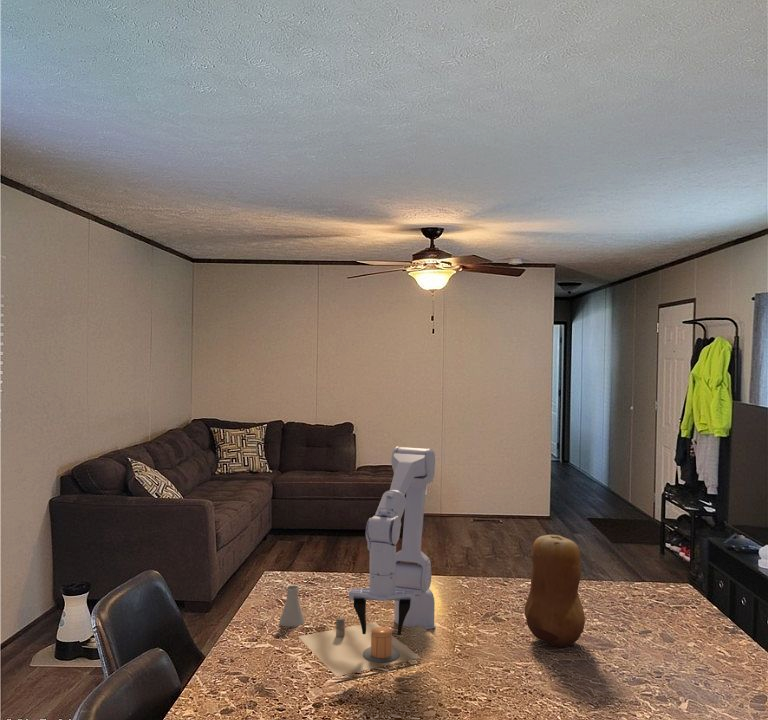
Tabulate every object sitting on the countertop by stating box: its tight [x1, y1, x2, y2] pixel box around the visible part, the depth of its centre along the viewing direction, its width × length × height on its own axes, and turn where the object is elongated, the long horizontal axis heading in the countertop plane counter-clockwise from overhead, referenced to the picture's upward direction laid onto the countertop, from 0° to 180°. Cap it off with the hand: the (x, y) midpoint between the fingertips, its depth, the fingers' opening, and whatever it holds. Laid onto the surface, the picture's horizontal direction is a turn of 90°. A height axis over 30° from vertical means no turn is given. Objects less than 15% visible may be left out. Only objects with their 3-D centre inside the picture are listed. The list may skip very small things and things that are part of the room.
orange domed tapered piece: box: [371, 626, 393, 658], centre depth 156 cm, size 4×4×5 cm
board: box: [297, 616, 421, 685], centre depth 160 cm, size 20×22×6 cm
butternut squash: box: [524, 534, 586, 649], centre depth 167 cm, size 14×13×25 cm
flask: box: [279, 584, 306, 628], centre depth 174 cm, size 7×7×10 cm
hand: (381, 632), depth 156 cm, fingers open, 7 cm apart
